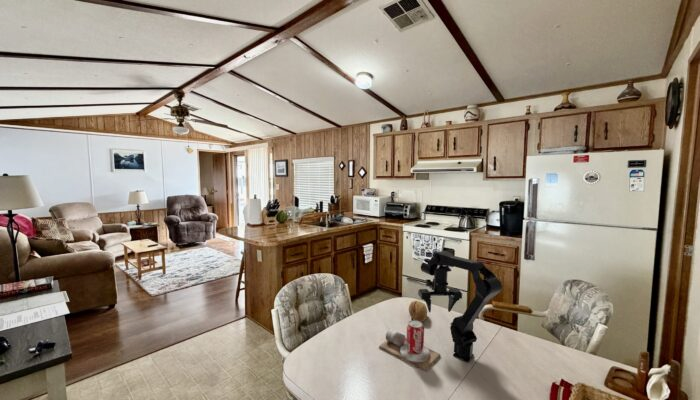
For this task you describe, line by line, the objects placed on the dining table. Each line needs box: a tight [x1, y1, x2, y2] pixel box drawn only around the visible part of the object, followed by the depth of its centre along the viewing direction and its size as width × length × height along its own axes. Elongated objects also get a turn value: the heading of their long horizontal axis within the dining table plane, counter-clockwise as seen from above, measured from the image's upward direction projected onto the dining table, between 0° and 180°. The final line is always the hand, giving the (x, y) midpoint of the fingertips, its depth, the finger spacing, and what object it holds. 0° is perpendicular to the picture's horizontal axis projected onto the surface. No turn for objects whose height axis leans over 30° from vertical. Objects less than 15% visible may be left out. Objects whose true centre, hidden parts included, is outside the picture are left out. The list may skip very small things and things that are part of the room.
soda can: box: [405, 319, 425, 355], centre depth 123 cm, size 7×7×12 cm
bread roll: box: [408, 300, 428, 323], centre depth 156 cm, size 10×15×8 cm, turn 170°
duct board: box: [378, 328, 441, 372], centre depth 126 cm, size 22×13×6 cm, turn 47°
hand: (439, 311), depth 135 cm, fingers open, 9 cm apart
